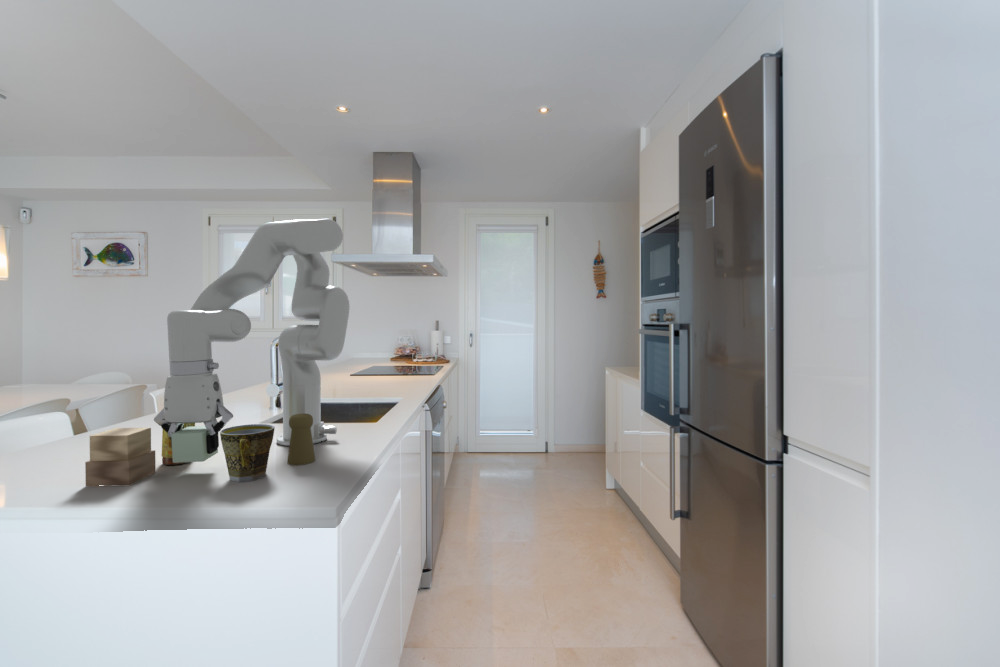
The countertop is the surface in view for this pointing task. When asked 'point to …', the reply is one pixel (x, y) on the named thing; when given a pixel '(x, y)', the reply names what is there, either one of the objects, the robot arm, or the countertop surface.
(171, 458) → the sauce bottle
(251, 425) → the ceramic cup
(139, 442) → the oak block
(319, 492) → the countertop surface
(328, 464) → the countertop surface
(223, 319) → the robot arm
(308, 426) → the cork
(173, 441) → the sage block
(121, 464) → the walnut block
